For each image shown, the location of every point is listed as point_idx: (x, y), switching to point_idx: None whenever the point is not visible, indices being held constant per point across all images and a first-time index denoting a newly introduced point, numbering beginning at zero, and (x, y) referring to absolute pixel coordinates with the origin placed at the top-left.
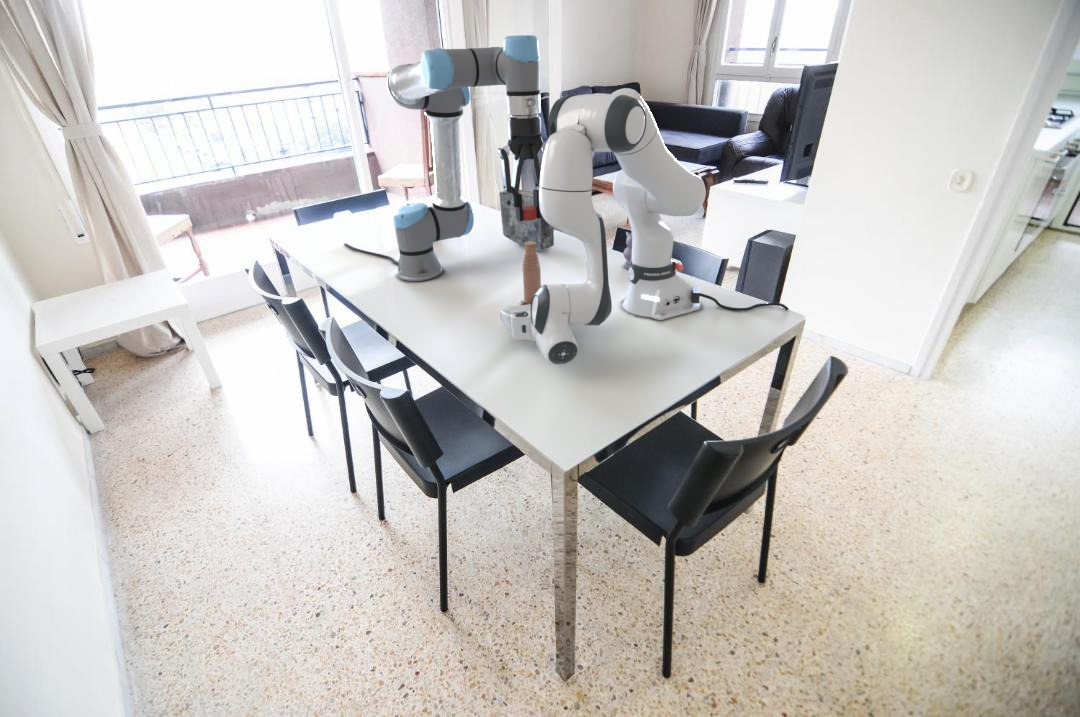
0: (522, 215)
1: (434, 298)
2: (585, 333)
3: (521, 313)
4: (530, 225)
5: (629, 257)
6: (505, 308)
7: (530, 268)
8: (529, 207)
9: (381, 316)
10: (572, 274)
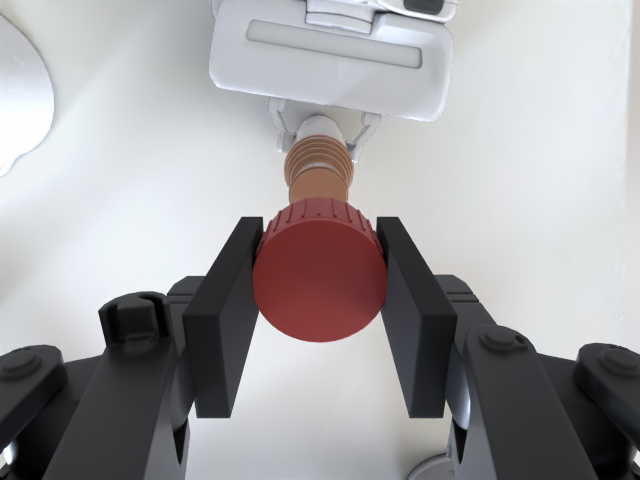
0: (385, 228)
1: None
2: (212, 16)
3: (420, 6)
4: None
5: None
6: (428, 109)
7: (335, 141)
8: (306, 287)
9: (612, 335)
10: None
